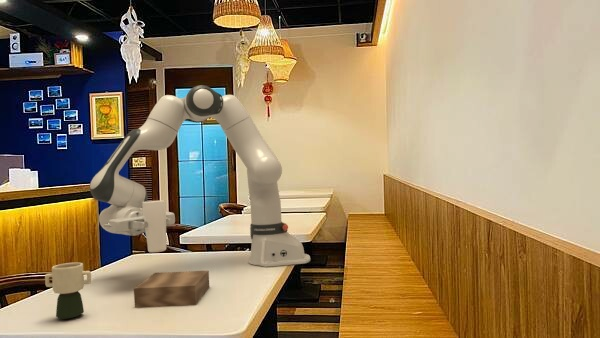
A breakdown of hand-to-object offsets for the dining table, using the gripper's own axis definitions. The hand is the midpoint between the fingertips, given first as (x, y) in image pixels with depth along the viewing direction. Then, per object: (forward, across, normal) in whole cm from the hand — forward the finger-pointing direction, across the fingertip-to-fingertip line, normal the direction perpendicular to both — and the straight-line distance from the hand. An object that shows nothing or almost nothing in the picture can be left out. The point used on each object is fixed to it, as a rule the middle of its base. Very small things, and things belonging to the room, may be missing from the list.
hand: (156, 223), depth 146 cm
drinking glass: (-1, 0, +9) cm, 9 cm away
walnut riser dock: (+12, -3, +20) cm, 23 cm away
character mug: (+5, -29, +20) cm, 35 cm away
